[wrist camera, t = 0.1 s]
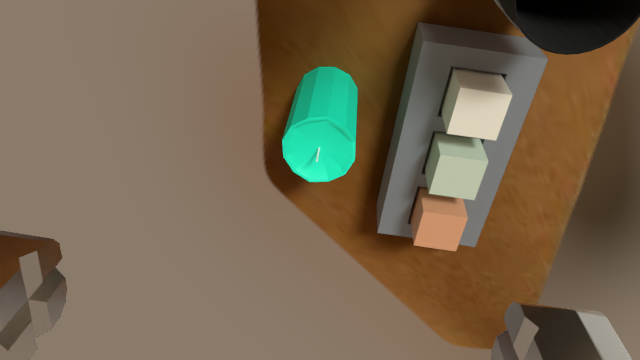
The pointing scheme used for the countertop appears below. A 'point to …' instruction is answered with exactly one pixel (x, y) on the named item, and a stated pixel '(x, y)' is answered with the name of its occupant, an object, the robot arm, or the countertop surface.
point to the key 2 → (474, 103)
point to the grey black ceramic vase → (571, 22)
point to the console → (425, 117)
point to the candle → (322, 125)
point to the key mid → (455, 165)
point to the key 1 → (437, 220)
